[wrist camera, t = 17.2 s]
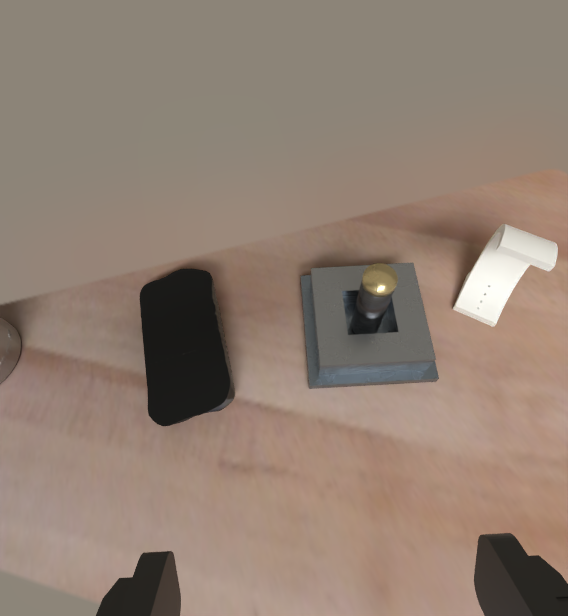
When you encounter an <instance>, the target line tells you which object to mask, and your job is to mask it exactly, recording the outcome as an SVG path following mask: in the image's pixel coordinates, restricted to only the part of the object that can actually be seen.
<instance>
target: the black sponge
mask: <svg viewBox="0 0 568 616" xmlns="http://www.w3.org/2000/svg"><path fill="white" fill-rule="evenodd" d="M140 306H141V319H142V332H143V343H144V354H145V365H146V377H147V387H148V413H149V416H150V417H151V418H152V420H153V421H154V422H156V423H157V424H159V425H161V426H170V425H172V424H177V423H180V422H183V421H186V420H188V419H190V418H192V417H194V416H197V415H200V414H203V413H208V412H214V411H220V410H222V409H224V408H225V407H226V406H227V405H229V404H230V403H231V402H232V401H233V399H234V396H235V391H234V383H233V379H232V374H231V368H230V363H229V357H228V352H227V346H226V341H225V339H224V337H225V336H224V333H223V328H222V322H221V317H220V312H219V307H218V302H217V299H216V294H215V288H214V283H213V279H212V276H211V275H210V273H208V272H207V271H203V270H197V269H180V270H178V271H175V272H173V273H171V274H170V275H168V276H166V277H164V278H162V279H160V280H156V281H153V282H150V283H148V284H146V285H145V286H144V287H143V288H142V290H141V292H140Z"/></svg>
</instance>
